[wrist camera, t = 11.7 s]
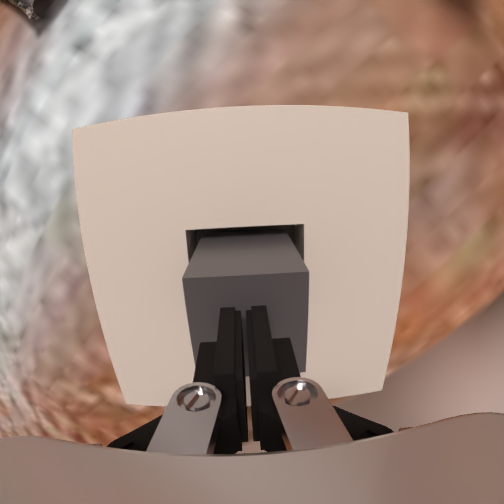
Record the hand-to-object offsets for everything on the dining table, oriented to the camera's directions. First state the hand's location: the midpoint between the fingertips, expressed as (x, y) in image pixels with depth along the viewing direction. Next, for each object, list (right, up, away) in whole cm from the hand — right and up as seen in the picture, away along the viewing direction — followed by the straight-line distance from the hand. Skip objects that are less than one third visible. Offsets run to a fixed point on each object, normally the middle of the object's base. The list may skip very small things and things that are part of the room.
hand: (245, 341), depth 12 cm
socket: (0, +3, +9) cm, 9 cm away
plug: (0, +3, +8) cm, 9 cm away
